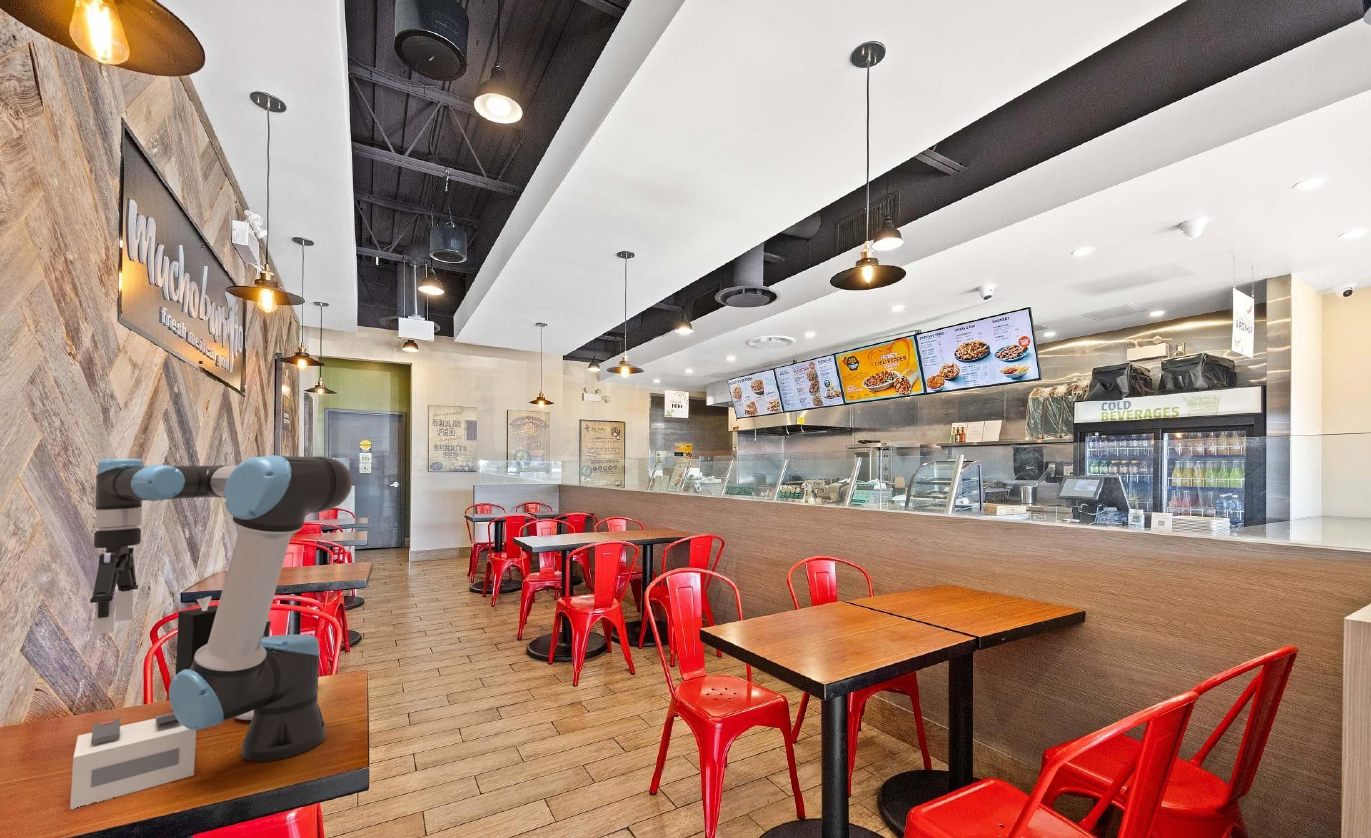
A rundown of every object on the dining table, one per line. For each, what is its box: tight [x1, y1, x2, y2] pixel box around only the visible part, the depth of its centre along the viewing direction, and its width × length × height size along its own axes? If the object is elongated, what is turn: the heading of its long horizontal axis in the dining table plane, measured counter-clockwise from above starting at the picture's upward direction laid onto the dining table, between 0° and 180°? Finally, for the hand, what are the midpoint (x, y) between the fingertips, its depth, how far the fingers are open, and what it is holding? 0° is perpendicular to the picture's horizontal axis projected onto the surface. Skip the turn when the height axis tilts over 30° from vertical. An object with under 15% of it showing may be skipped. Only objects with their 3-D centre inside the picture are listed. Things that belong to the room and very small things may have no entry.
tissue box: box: [174, 595, 218, 676], centre depth 149 cm, size 8×8×28 cm
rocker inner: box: [154, 711, 177, 724], centre depth 119 cm, size 6×4×1 cm
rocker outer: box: [91, 717, 122, 745], centre depth 113 cm, size 6×4×1 cm
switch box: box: [69, 717, 197, 811], centre depth 116 cm, size 12×17×9 cm
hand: (114, 626), depth 130 cm, fingers open, 13 cm apart
